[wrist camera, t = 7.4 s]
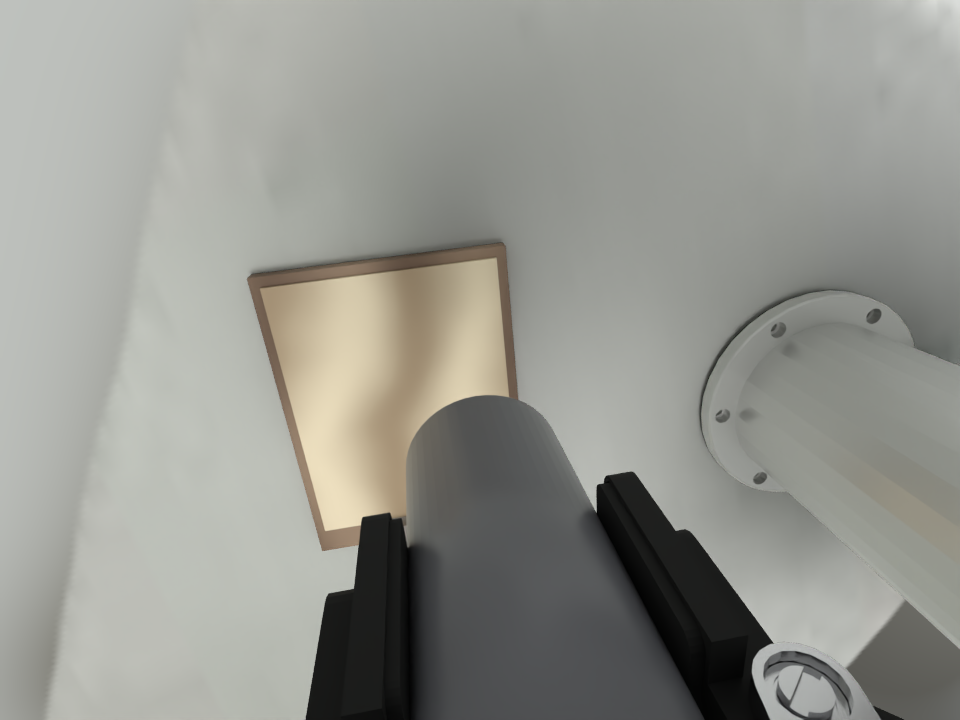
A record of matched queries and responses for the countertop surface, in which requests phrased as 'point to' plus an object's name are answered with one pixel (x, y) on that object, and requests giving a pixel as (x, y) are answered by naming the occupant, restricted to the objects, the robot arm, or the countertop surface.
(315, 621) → the countertop surface
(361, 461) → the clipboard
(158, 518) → the countertop surface
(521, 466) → the marker
